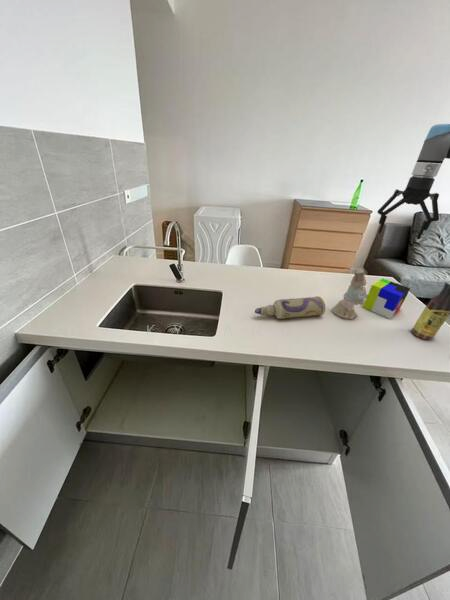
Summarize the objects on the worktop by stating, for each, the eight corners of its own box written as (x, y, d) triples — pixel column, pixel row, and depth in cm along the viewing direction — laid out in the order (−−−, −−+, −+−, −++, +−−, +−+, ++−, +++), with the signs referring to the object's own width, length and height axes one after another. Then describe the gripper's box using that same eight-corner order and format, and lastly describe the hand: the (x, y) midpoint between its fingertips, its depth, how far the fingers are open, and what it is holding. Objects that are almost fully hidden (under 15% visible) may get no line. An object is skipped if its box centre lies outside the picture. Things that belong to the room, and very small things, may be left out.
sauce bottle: (418, 340, 81) (450, 288, 71) (407, 328, 86) (435, 278, 76) (437, 341, 81) (472, 289, 71) (425, 329, 86) (456, 280, 76)
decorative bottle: (313, 307, 96) (317, 292, 92) (323, 318, 89) (328, 303, 86) (250, 311, 91) (252, 296, 87) (256, 324, 84) (259, 308, 81)
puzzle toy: (389, 318, 91) (400, 295, 86) (362, 306, 98) (371, 284, 92) (399, 310, 97) (410, 288, 92) (373, 299, 103) (382, 278, 98)
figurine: (338, 320, 89) (356, 270, 78) (328, 307, 96) (344, 260, 85) (361, 320, 89) (382, 271, 79) (350, 308, 96) (368, 261, 86)
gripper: (384, 174, 89) (364, 232, 100) (469, 180, 80) (437, 243, 91) (383, 173, 95) (364, 228, 106) (462, 179, 86) (433, 238, 97)
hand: (398, 235), depth 99 cm, fingers open, 13 cm apart
